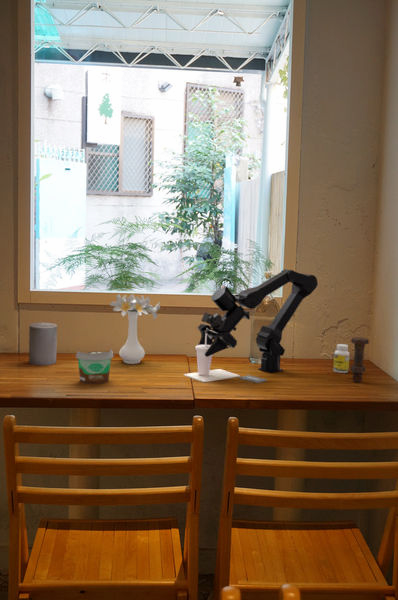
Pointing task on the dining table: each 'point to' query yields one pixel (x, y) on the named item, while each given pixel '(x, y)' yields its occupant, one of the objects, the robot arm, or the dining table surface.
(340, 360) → the supplement bottle
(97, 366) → the food container
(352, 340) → the bolt
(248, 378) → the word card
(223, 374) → the paper
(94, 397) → the dining table surface
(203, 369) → the smoothie
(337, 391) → the dining table surface
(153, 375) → the dining table surface
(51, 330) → the pillar candle
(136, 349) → the flower vase
